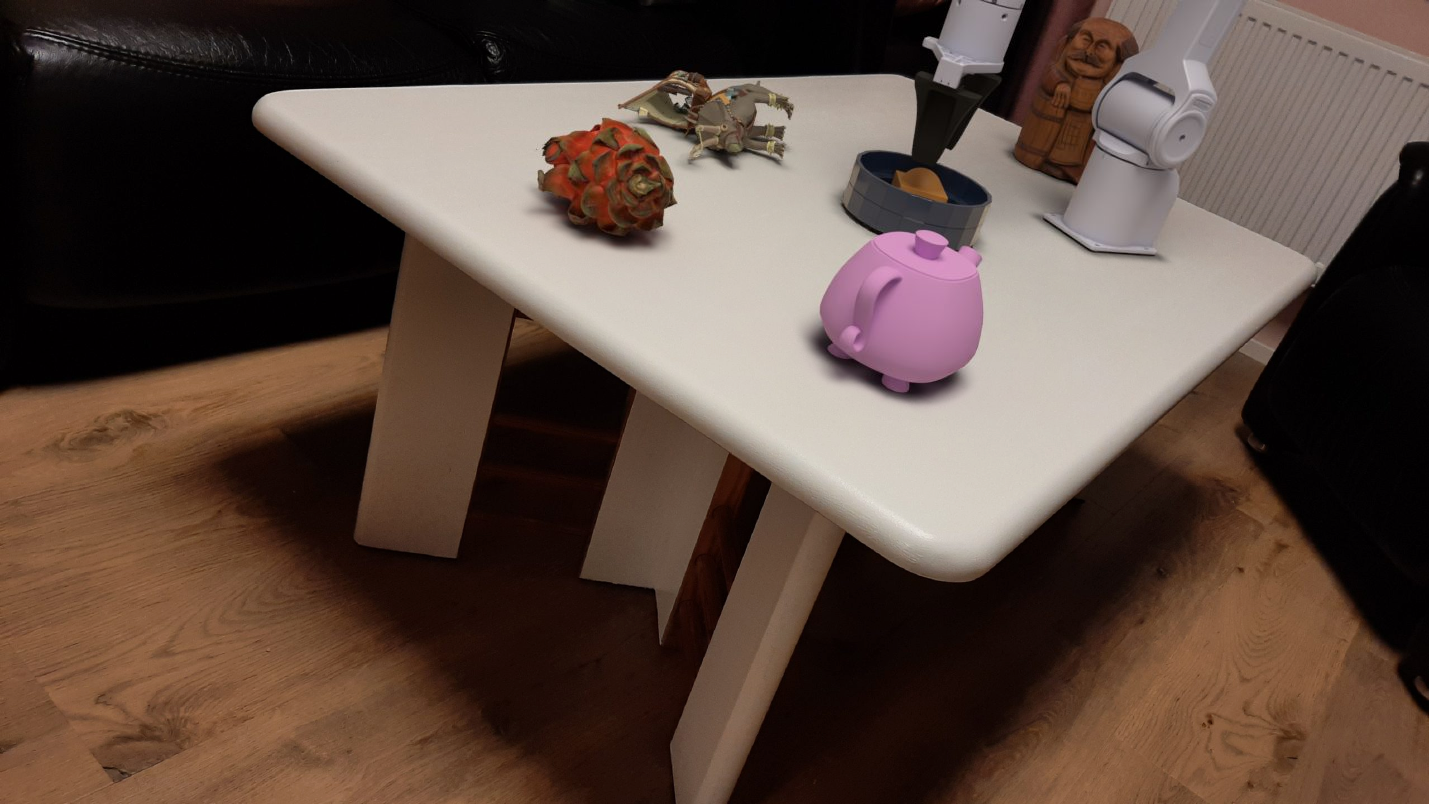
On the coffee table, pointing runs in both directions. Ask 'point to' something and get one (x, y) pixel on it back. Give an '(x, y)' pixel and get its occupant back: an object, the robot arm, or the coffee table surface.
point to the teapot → (906, 308)
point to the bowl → (915, 199)
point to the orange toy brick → (920, 184)
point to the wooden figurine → (1072, 97)
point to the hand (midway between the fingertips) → (932, 154)
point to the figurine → (713, 112)
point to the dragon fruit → (609, 177)
